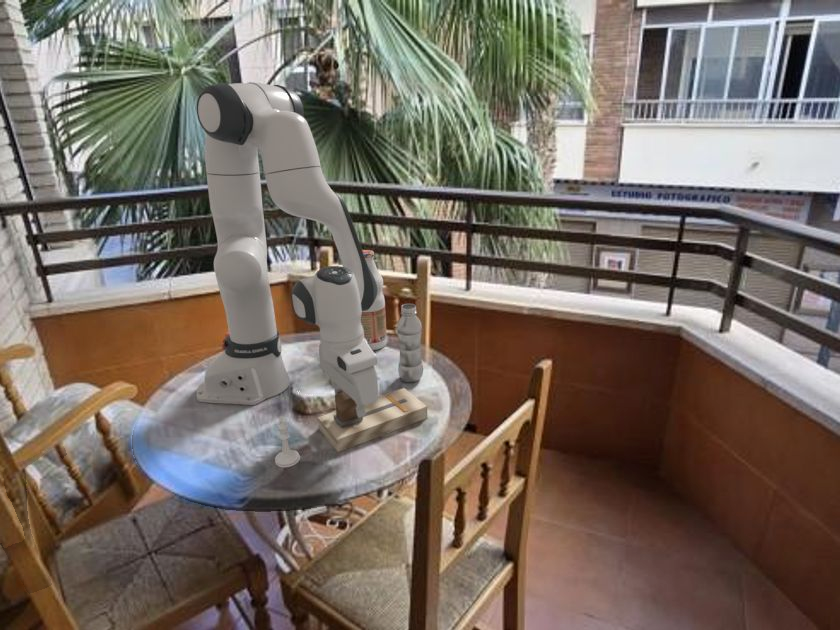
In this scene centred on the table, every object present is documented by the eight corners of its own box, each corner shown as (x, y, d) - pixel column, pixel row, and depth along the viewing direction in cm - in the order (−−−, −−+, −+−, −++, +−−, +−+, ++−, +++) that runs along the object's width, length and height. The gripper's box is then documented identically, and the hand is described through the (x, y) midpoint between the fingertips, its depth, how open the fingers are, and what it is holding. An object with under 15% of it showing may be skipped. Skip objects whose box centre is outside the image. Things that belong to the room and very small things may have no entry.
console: (338, 452, 110) (336, 439, 109) (318, 429, 118) (317, 416, 116) (427, 417, 121) (427, 405, 120) (404, 398, 129) (403, 387, 127)
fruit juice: (357, 353, 152) (350, 258, 142) (352, 340, 161) (345, 249, 150) (390, 348, 154) (385, 254, 144) (383, 336, 163) (378, 246, 152)
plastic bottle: (424, 373, 140) (423, 301, 133) (422, 385, 134) (420, 311, 127) (400, 372, 141) (397, 301, 134) (396, 385, 135) (393, 311, 127)
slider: (341, 427, 112) (339, 403, 110) (333, 419, 115) (331, 394, 113) (363, 420, 115) (361, 395, 112) (354, 411, 118) (352, 388, 116)
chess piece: (292, 449, 111) (286, 407, 107) (304, 460, 108) (299, 417, 104) (270, 459, 108) (264, 417, 104) (282, 470, 105) (276, 427, 101)
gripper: (308, 334, 115) (316, 390, 120) (351, 370, 99) (358, 432, 104) (335, 326, 118) (341, 381, 123) (381, 360, 102) (386, 421, 107)
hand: (350, 405), depth 114 cm, fingers open, 8 cm apart
